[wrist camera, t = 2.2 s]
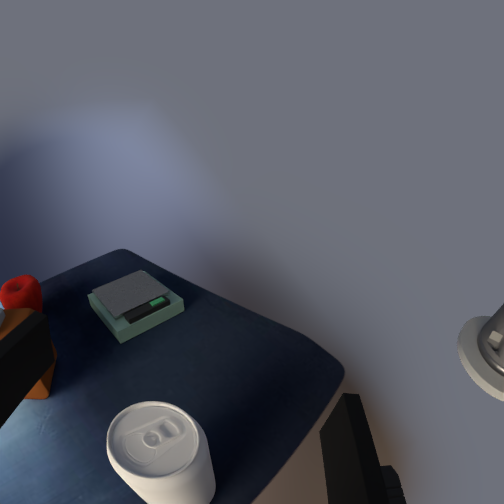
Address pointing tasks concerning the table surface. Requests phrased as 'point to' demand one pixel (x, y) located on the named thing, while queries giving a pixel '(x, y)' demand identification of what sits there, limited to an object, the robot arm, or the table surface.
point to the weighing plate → (129, 293)
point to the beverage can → (161, 454)
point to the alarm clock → (6, 321)
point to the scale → (139, 315)
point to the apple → (22, 293)
